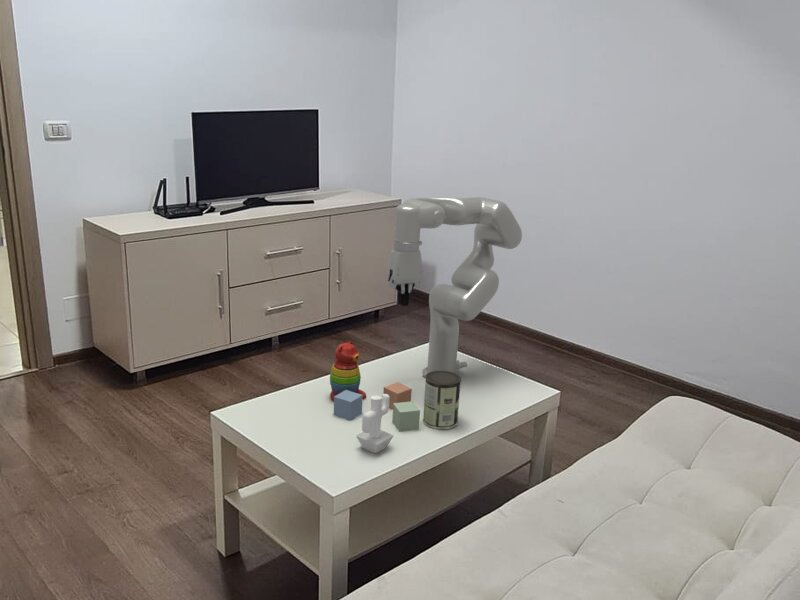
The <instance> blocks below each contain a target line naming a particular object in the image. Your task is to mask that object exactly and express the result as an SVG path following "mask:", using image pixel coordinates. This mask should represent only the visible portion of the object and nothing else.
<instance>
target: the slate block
mask: <svg viewBox="0 0 800 600" xmlns="http://www.w3.org/2000/svg"><path fill="white" fill-rule="evenodd" d="M363 401H364V400H363V395H361V394H358V393H355V392H351V391H348V390H345V391H343V392H341V393H340V394H338V395H336V396H334V402H333V416H335V417H338V418H341V419H343V420H347V421H352V420H354V419H355V418H357V417H359V416H360V415H362V414H363Z"/></svg>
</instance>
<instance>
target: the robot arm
mask: <svg viewBox="0 0 800 600" xmlns="http://www.w3.org/2000/svg"><path fill="white" fill-rule="evenodd" d="M394 219H395V220H394V221H395V223H394V237H393V238H394V239H393V249H391V250H390V253H389V254H390V255H389V256H388V257H389V258H388V263H387V271H386V280H387V281H388V282H389V283H388V287H389V288H390V289H395V290H396V291H397V292H398V293H397V294H398V295H397V303H398V304H399V305H400V306H402V307H405V306H409V301H410V294H411V293H412V290H413V288H414V287H417V286H418V285H420V284H421V282H420V281H421V279H422V273H423V271H422V270H423V267H422V266H423V265H422V263H423V262H422V260H423V259H422V253H421V250H420V246H422V245H423V241H421V240H420V239H421V229H431V230H432V229H436V228H439V227H441V226H442V225H449V226H465V225H467V226H468V225H475V227H474V231H473V232H474V233H473V235H474V236H473V248H472V250H471V252H470V253H469V255H468V256H467V257H466V259H465V260H463V261H462V262H461V264H460V265H459V266H458V267H457V268H456V270H454V272H453V273H452V275H451V284H452V285H451V284H447V283H441V284H436V285H435V286H433V288H432V289H431V290H430V292H429V296H428V297H429V298H428V305H429V312H430V323H429V324H430V325H429V336H428V337H429V341H428V353H427V355H428V356H427V367H424V368H423V369H422V376H423V377H424V378H425V376H426V374H427V373H429V372H432V371H449V372H453V373H456V374H458V375H459V376H460V377H461V372H460V371H459V370H460V369H461V368H462V369H463V368H467V367H468V362H467V361H461V362H460V361H459V360H457V357H458V349H459V348H458V345H459V334H460V324H459V320H460V321H463V322H469V321H473V320H474V319H476V317H477V316H478V315H479V314H480V313H481V312H482V311H483V309H485V307H486V306H487V305H488V303H490V301H492V299H493V298H494V297H495V295H496V293H497V291H498V289H499V285H500V280H499V279H500V278H499V276H498V274H497V272H495V270H492V267H493V266H494V264H495V263H494V262H495V255H494V250H493V246H495V247H498V248H504V249H507V250H513V249H515V248H517V247H519V245H520V244H521V241H522V237H523V234H522V233H523V232H522V228H521V226H520V224H519V222H518V220H517V218H516V217H515V215H514V214H513V212H512V211H511V209H510V207H509V206H508V205H507V204H506V203H504V202H503V201H500V200H496V199H492V198H486V197H480V196H479V197H478V196H477V197H460V198H459V197H458V198H452V197H450V198H449V197H441V198H440V197H439V198H438V197H414V198H412V197H411V198H409V199H406V200H405V201H404V202H403V203H401V204H398V205H397V206H396V208H395V217H394Z"/></svg>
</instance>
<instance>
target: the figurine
mask: <svg viewBox="0 0 800 600" xmlns="http://www.w3.org/2000/svg"><path fill="white" fill-rule="evenodd" d="M389 402H390V397H389V395H387V394H382V395H381V396H380V395H373V396H371V397H370V410H368V411H366V412H365V413H364V414H363V416H362V421H361V422H362V423H361V426H362V427H361V431H362V432H361V433H358V434H357V435H356V438H357V441H358V442H359V443H360V445H361V447H362V448H363V449H365V451H369V452H372V453H374V454H377V453H379V452H381V451H382V450H384V449H385V448H386V449H387V446H388V444H389V443H390V442H391V441H392V439H393V437H394V434H392V433H389V432H387V431H385V430H383V429H381V425H382V417H383V416H385V415H386V414H388V413H389V411H390V408H389Z"/></svg>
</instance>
